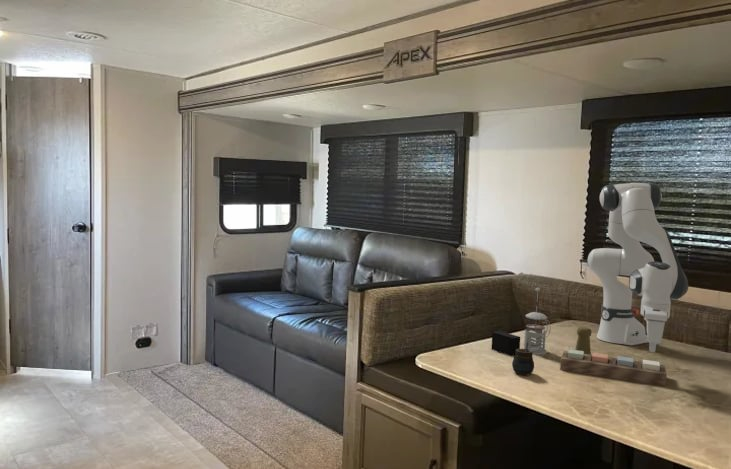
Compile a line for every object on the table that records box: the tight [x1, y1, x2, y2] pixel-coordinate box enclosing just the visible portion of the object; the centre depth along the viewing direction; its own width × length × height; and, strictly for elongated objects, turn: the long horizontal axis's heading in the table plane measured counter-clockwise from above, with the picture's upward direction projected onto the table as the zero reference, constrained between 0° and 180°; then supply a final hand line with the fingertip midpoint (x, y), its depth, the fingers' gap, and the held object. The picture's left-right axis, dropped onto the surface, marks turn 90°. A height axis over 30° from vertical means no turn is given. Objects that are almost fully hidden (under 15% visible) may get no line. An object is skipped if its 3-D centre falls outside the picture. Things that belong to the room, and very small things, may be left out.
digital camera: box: [491, 330, 521, 357], centre depth 222 cm, size 10×5×7 cm, turn 36°
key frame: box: [559, 350, 668, 387], centre depth 200 cm, size 33×11×4 cm, turn 66°
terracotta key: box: [591, 352, 609, 363], centre depth 201 cm, size 5×5×2 cm
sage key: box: [568, 348, 584, 360], centre depth 205 cm, size 5×5×2 cm
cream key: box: [642, 359, 661, 371], centre depth 195 cm, size 5×5×2 cm
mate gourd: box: [511, 343, 535, 376], centre depth 196 cm, size 7×8×10 cm
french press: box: [521, 287, 552, 356], centre depth 224 cm, size 10×12×25 cm
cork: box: [574, 326, 592, 355], centre depth 220 cm, size 6×6×11 cm
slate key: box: [616, 355, 634, 367], centre depth 198 cm, size 5×5×2 cm
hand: (652, 351), depth 194 cm, fingers closed
